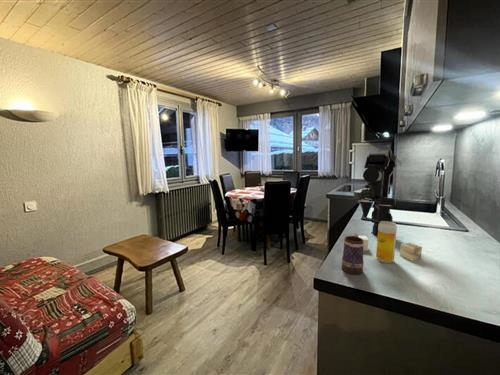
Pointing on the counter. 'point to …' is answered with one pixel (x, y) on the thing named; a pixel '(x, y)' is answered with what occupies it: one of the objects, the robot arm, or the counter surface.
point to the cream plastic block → (364, 242)
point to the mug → (353, 255)
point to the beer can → (386, 241)
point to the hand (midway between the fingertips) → (371, 219)
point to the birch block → (410, 251)
